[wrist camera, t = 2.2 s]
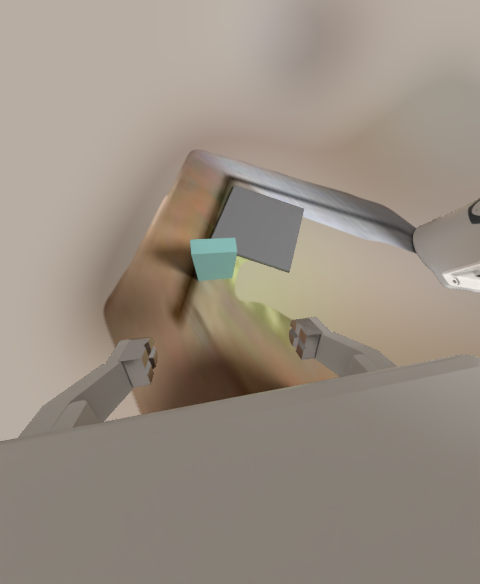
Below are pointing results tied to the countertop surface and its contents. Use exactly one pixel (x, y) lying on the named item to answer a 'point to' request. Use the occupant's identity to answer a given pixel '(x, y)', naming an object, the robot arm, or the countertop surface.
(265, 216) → the mat
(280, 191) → the countertop surface
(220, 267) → the teal board
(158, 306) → the countertop surface
